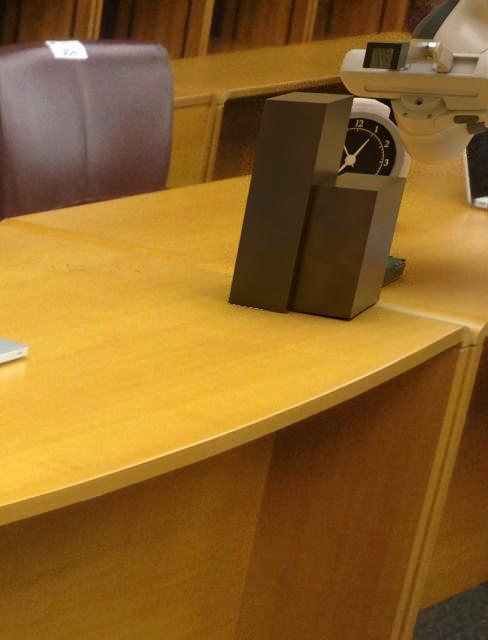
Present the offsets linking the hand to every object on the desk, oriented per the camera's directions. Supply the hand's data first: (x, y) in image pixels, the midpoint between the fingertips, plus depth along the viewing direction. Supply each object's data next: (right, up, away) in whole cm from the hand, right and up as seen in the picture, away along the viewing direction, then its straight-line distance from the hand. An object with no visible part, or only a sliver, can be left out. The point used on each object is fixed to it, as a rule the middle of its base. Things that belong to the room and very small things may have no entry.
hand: (417, 46), depth 200 cm
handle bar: (-5, -4, -4) cm, 7 cm away
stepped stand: (-12, -32, +7) cm, 35 cm away
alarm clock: (+16, -7, +56) cm, 58 cm away
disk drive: (0, -24, +22) cm, 33 cm away
